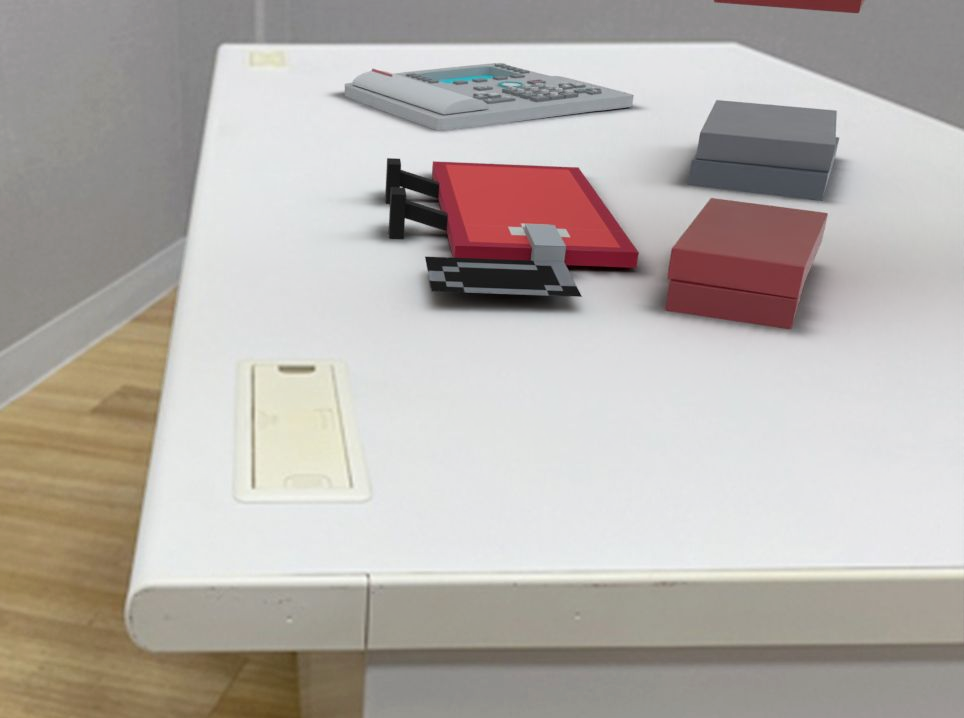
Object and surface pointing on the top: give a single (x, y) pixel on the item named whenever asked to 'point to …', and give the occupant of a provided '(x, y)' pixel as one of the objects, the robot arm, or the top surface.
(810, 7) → the burgundy book
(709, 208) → the burgundy books
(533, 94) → the office telephone
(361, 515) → the top surface
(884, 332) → the top surface
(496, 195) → the red board with handle
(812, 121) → the grey books
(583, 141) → the top surface
